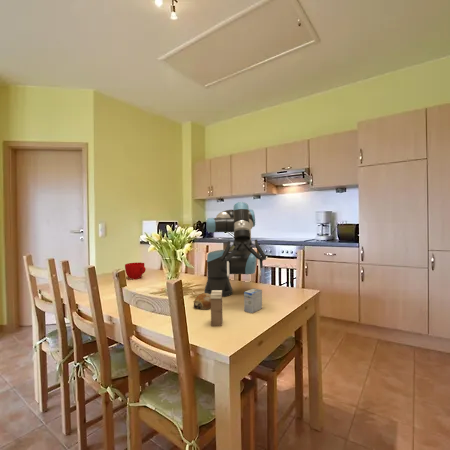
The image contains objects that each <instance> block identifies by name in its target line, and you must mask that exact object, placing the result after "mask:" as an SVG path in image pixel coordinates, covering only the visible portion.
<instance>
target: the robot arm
mask: <svg viewBox="0 0 450 450" xmlns="http://www.w3.org/2000/svg"><path fill="white" fill-rule="evenodd" d="M255 217H256V216H255V211H254V210H253V209H251V208H249V205H248V203H246V202H243V201H240V202H239V201H238V202H236V203H234V204H233V209H227V210H223V211H220V212H219V213H218V214H217V215H216V217H211V218H210V217H209V218H207V219H206V227H205V228H206V231H207V232H208V233H213V234H214V233H233V234H234V235H233V236H234V237H233V238H234V239H233V242H232V241H230V240H228V241H227V242H226V243H227V245H226V247H225V248H224V249H219V250H213V251H210V252H208V253H207V257H206V262H207V263H206V266H207V267H206V269H207V280H206V284H205V287H204V289H203V290H204V292H203V293H208V294H211V292H212V290H222V298H224V297H229V296H231V295H233V287H232V284H231V280H230V277H231V276H230V275H246V276H247V275H254V274H255V273H256V269H258V277H261V276H262V275H261V273H262V271H261V269H263V267H264V265H263V261H265V260H267V255H266V254H265V252H264V250H263V249H262V247H261V246H260V244H259V243H258V239H254V240H252V229H253V228H254V227H255V225H256V218H255ZM252 245H253V246H255V248H256V249H257V251H258V252H257V251H256V250H255V249H254V248H253V246H252ZM233 246H234V247H233ZM231 248H233V249H232V250H231ZM257 264H258V265H257ZM257 266H258V267H257Z"/></svg>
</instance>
